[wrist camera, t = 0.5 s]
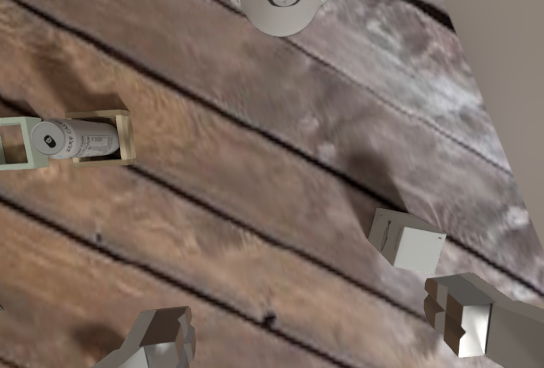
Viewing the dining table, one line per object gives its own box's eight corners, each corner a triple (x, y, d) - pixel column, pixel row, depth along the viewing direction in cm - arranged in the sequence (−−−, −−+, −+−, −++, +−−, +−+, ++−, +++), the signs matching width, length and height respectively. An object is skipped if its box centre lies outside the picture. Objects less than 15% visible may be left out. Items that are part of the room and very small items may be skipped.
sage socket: (-8, 120, 54) (-27, 119, 50) (40, 118, 54) (24, 116, 50) (2, 169, 55) (-16, 171, 52) (49, 166, 55) (34, 168, 52)
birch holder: (78, 114, 54) (64, 112, 50) (129, 111, 54) (120, 109, 50) (86, 166, 55) (74, 167, 52) (136, 163, 55) (127, 164, 52)
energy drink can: (109, 117, 54) (48, 108, 39) (129, 142, 54) (77, 143, 40) (85, 135, 54) (16, 133, 39) (106, 160, 55) (45, 168, 40)
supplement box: (375, 206, 57) (404, 224, 44) (410, 213, 57) (449, 233, 45) (366, 240, 58) (392, 267, 45) (400, 247, 58) (435, 276, 46)
